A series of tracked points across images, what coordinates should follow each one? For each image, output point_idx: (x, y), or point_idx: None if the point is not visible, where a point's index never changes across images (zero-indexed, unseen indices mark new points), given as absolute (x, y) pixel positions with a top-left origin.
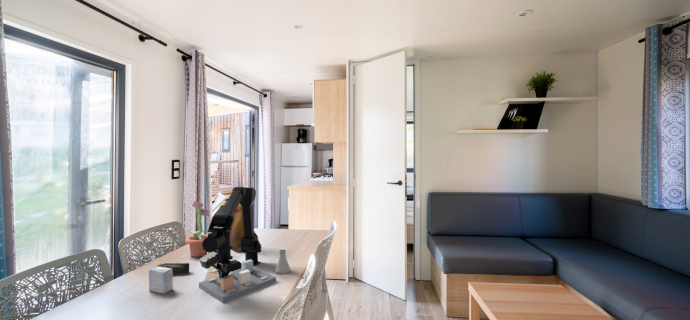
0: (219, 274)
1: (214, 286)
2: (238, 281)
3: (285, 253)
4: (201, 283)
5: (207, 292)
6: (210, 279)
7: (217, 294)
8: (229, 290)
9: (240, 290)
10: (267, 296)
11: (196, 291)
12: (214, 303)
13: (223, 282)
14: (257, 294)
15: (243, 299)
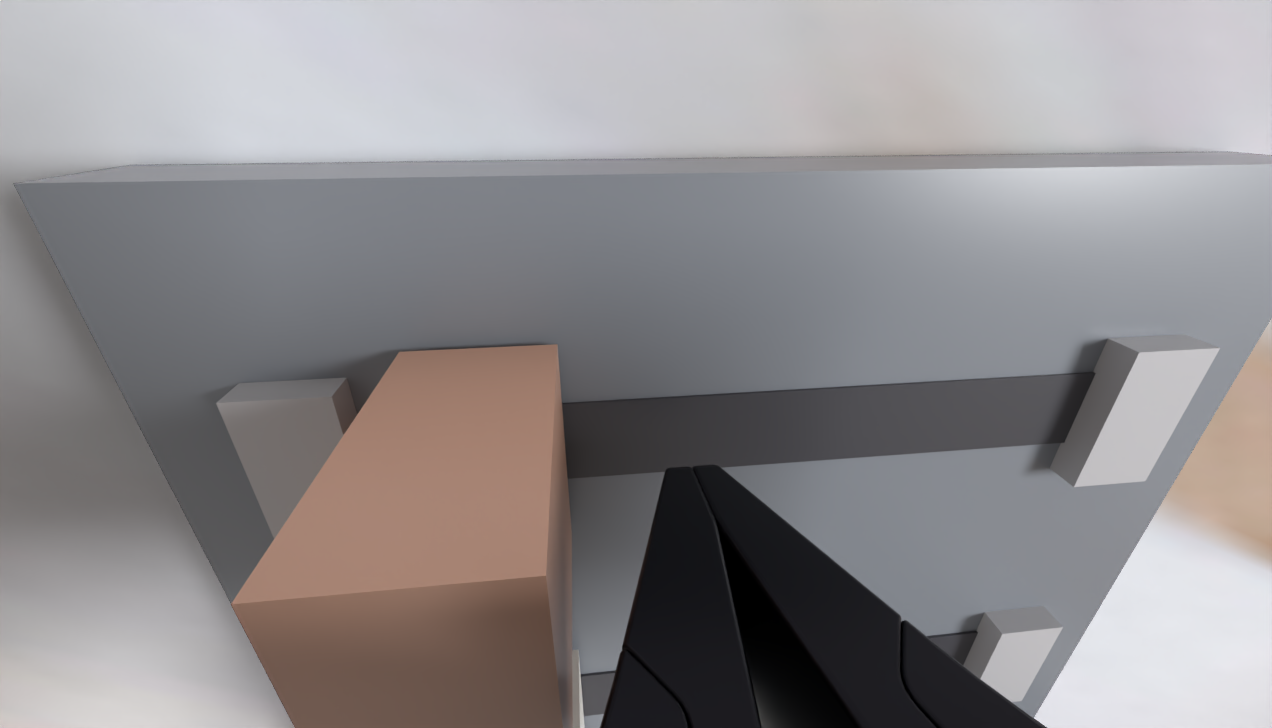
0: (834, 669)
1: (847, 323)
2: (575, 682)
3: None
4: (1263, 185)
5: (865, 157)
6: (1179, 391)
7: (359, 179)
8: (290, 449)
9: (243, 584)
10: (23, 719)
11: (1143, 19)
12: (236, 13)
13: (308, 505)
14: (178, 664)
15: (100, 491)
